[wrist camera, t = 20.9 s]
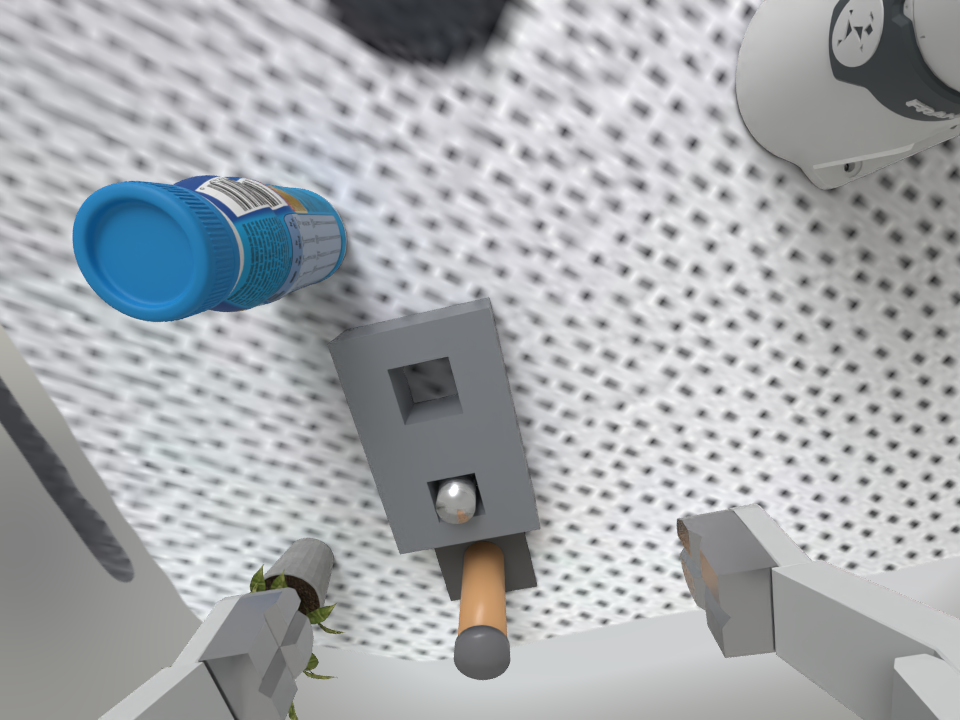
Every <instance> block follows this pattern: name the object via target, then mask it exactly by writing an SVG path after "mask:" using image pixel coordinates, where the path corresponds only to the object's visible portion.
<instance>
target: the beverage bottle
mask: <svg viewBox="0 0 960 720" xmlns="http://www.w3.org/2000/svg"><path fill="white" fill-rule="evenodd" d="M346 247H347V237H346V231H345V227H344V224H343V221H342V219H341V217H340V215H339V214H338V212H337V211H336V209H335V208H334V207H333V206H332V205H331V204H330V203H329V202H328V201H327V200H326V199H324V198H323V197H322V196H320V195H318V194H316V193H314V192H312V191H309V190H305V189H300V188H288V187H281V186H274V185H268V184H263V183H261V182H258V181H255V180H251V179H247V178H241V177H220V176H210V175H205V176H196V177H191V178H188V179H185V180H182V181H180V182H177V183H175V184H173V185H169V184H162V183H152V182H142V181H129V182H123V183H116V184H111V185H108V186H105V187H103V188H101V189H99V190H97V191H96V192H94V193H93V194H92V195H90V196H89V197H88V198H87V199H86V200H85V202H84V203H83V204H82V206H81V207H80V209H79V211H78V213H77V215H76V218H75V222H74V226H73V248H74V253H75V257H76V260H77V263H78V266H79V268H80V270H81V272H82V274H83V276H84V278H85V279H86V281H87V282H88V284H89V285H90V286H91V288H92V289H93V290H94V291H95V292H96V293H97V295H98V296H99V297H100V298H102V299H103V300H104V301H105V302H106V303H107V304H109V305H110V306H112V307H113V308H115V309H116V310H118V311H120V312H121V313H123V314H126V315H128V316H130V317H133V318H136V319H140V320H144V321H151V322H164V321H165V322H167V321H174V320H180V319H183V318H186V317H189V316H192V315H195V314H198V313H201V312H204V311H206V310H213V311H220V312H237V311H243V310H247V309H251V308H253V307H256V306H260V305H265V304H268V303H271V302H274V301H277V300H279V299H281V298H282V297H284V296H285V295H287V294H288V293H290V292H293V291H295V290H298V289H300V288H303V287H305V286H308V285H311V284H314V283H317V282H320V281H323V280H325V279H326V278H328V277H330V276H331V275H332V274H333V273H334V272H335V271H336V270H337V269H338V268H339V266H340V265H341V263H342V261H343V259H344V256H345V252H346Z"/></svg>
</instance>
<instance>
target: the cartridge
mask: <svg viewBox="0 0 960 720" xmlns="http://www.w3.org/2000/svg"><path fill="white" fill-rule="evenodd" d="M454 662H455V665H456V667H457V669H458V670H459V671H460V672H461V673H463V674H464V675H466V676H467V677H470V678H473V679H477V680H488V679H493V678H496V677H498V676H500V675H501V674H502V673H504V672H505V671H506V669H507V668H508V666H509V664H510V645H509V641H508V638H507V626H506V601H505V575H504V555H503V552H502V550H501V549H500V548H499V547H498V546H497V545H495V544H493V543H491V542H485V541H482V542H477V543H474V544H472V545H471V546H469V547H468V548H467V550H466V551H465V554H464V564H463V577H462V590H461V602H460V615H459V628H458V637H457V639H456V641H455V650H454Z"/></svg>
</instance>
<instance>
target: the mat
mask: <svg viewBox="0 0 960 720" xmlns="http://www.w3.org/2000/svg"><path fill="white" fill-rule="evenodd" d="M482 541H485V542H491V543H493V544H495V545H497V546H498V547H499V548H500V549H501V550H502V552H503V555H504V575H505V592H507V591H513V590H519V589H524V588H530V587H536V586H537V583H536V579H535V574H534V570H533V566H532V562H531V558H530V554H529V550H528V546H527V542H526V537H525V533H524V532H521V533H515V534H510V535H504V536H499V537H493V538H488V539H482V540H476V541H471V542H465V543H460V544H454V545H449V546H443V547H438V548H434V549H435V552H436V555H437V558H438V561H439V565H440V568H441V571H442V574H443V577H444V580H445V584H446V587H447V590H448V593H449V596H450V599H451V601H453V600H459V599H461V590H462V577H463V564H464V554H465V551H466V550H467V548H468V547H469V546H471V545H472V544H474V543H477V542H482Z"/></svg>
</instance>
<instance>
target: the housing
mask: <svg viewBox="0 0 960 720" xmlns="http://www.w3.org/2000/svg"><path fill="white" fill-rule="evenodd" d="M328 347H329V350H330V353H331V356H332V359H333V362H334V364H335V367H336V370H337V373H338V376H339V379H340V382H341V385H342V388H343V390H344V393H345V396H346V399H347V402H348V405H349V408H350V411H351V414H352V417H353V419H354V422H355V425H356V428H357V431H358V434H359V437H360V440H361V443H362V445H363V448H364V451H365V454H366V457H367V460H368V463H369V466H370V469H371V472H372V474H373V477H374V480H375V483H376V486H377V489H378V492H379V495H380V498H381V500H382V503H383V506H384V509H385V512H386V515H387V518H388V521H389V524H390V527H391V529H392V532H393V535H394V538H395V541H396V544H397V547H398V550H399V553H400V554H404V553H410V552H416V551H421V550H427V549H432V548H438V547H443V546H449V545H454V544H460V543H465V542H471V541H476V540H482V539H488V538H493V537H499V536H504V535H510V534H515V533H521V532H526V531H532V530H537V529H540V525H539V519H538V512H537V506H536V500H535V495H534V491H533V486H532V482H531V478H530V473H529V469H528V464H527V460H526V456H525V451H524V447H523V443H522V438H521V434H520V429H519V425H518V421H517V416H516V412H515V408H514V403H513V399H512V395H511V390H510V386H509V381H508V377H507V373H506V368H505V364H504V360H503V355H502V351H501V346H500V342H499V338H498V333H497V329H496V325H495V320H494V316H493V312H492V307H491V303H490V298H484V299H480V300H475V301H471V302H467V303H462V304H458V305H454V306H449V307H445V308H440V309H436V310H432V311H427V312H423V313H419V314H414V315H410V316H406V317H401V318H397V319H392V320H388V321H384V322H379V323H375V324H371V325H366V326H362V327H357V328H353V329H349V330H345V331H344V332H343V333H341V334H340V335H339V336H338V337H336V338H335V339H334V340H332V341H331V342H330V343H329V344H328ZM444 357H449V361H450V365H451V369H452V372H453V376H454V380H455V384H456V387H457V391H458V394H457V395H453V396H448V397H443V398H438V399H434V400H429V401H424V402H419V403H415V404H414V403H413V400H412V396H411V393H410V390H409V386H408V383H407V380H406V376H405V373H404V369H403V366H407V365H412V364H416V363H421V362H425V361H430V360H434V359H439V358H444ZM471 473H475V476H476V479H477V483H478V486H477V487H476V504H475V512H474V515H473V516H472V517H471V518H470V519H469V520H468V521H466V522H464V523H461V524H452V523H448V522H446V521H444V520H443V519H442V518H441V517H440V516H439V515H438V513H437V511H436V502H437V496H438V491H439V486H440V481H441V480H440V479H446V478H451V477H456V476H461V475H466V474H471Z"/></svg>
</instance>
